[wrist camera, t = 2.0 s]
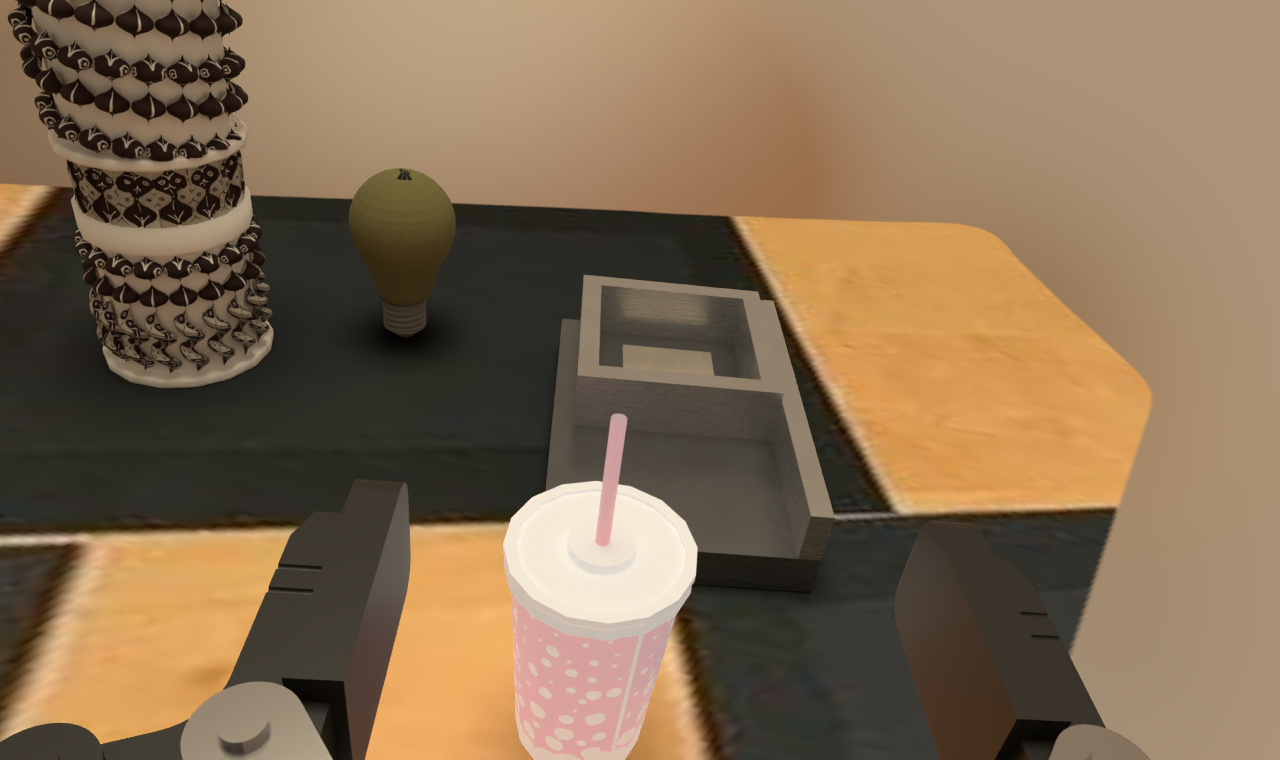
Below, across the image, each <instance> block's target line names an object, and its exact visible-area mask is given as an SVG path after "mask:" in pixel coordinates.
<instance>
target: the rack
mask: <svg viewBox="0 0 1280 760" xmlns="http://www.w3.org/2000/svg"><path fill="white" fill-rule="evenodd" d="M618 413H619V414H623V415H625V416H626V417H627V425H626V433H625V440H624V447H623V454H622V461H621V468H620V475H619V482H618V484H619V485H625V486H631V487H633V488H636V489H638V490H640V491H642V492H645V493H647V494H649V495H651V496H653V497H656V498H658V499H660V500H662V501H663V502H664V503H665V504H667V505H668V506H669V507H670V508H671V509H672V510H673V511H674V512H675V513H676V514H678V515H679V516H680V517H681V518H682V519H683V520H684V521H685V522H686V524H687V526H688V528H689V530H690V532H691V535H692V537H693V539H694V541H695V543H696V545H697V547H698V549H697V565H696V577H695V581H694V583H693V584H696V585H710V586H725V587H739V588H754V589H768V590H782V591H797V592H810V591H811V588H812V585H813V582H814V579H815V576H816V573H817V570H818V567H819V564H820V561H821V558H822V555H823V552H824V549H825V546H826V543H827V540H828V537H829V534H830V531H831V528H832V525H833V522H834V519H835V517H834V514H833V510H832V506H831V503H830V499H829V496H828V492H827V489H826V485H825V482H824V478H823V475H822V471H821V468H820V464H819V461H818V457H817V453H816V450H815V446H814V443H813V439H812V436H811V432H810V429H809V425H808V422H807V418H806V415H805V411H804V408H803V404H802V400H801V397H800V393H799V390H798V386H797V383H796V379H795V376H794V372H793V369H792V365H791V362H790V358H789V355H788V351H787V347H786V344H785V340H784V337H783V333H782V330H781V326H780V323H779V319H778V316H777V312H776V309H775V305H774V302H773V301H767V300H760V297H759V294H758V292H754V291H744V290H734V289H723V288H713V287H703V286H693V285H682V284H672V283H662V282H652V281H641V280H631V279H621V278H611V277H600V276H590V275H584V280H583V290H582V300H581V311H580V320H571V319H562V328H561V338H560V348H559V358H558V369H557V379H556V389H555V399H554V410H553V420H552V430H551V440H550V450H549V461H548V471H547V481H546V491H548V490H551V489H553V488H555V487H558V486H560V485H563V484H572V483H581V482H591V481H600V482H603V475H604V467H605V460H606V452H607V444H608V436H609V428H610V421H611V416H612V415H613V414H618ZM546 491H545V492H546Z"/></svg>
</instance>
